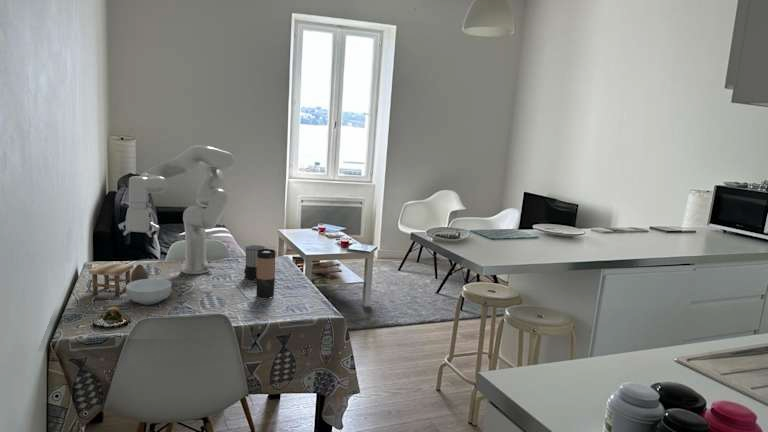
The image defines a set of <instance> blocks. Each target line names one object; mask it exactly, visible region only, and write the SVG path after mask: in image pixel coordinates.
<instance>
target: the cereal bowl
mask: <svg viewBox="0 0 768 432" xmlns="http://www.w3.org/2000/svg"><path fill="white" fill-rule="evenodd" d="M125 292H126V295H127V298H128V299H130V301H133V302H135V303H138V304H141V305H154V304H155V305H156V304H158V303H159V302H160V301H163V300H164V299H165V300H166V299H167V298H168V297H169V295H170V294H171V292H172V282H171V281H170V280H168V279H163V278H148V279H142V280H137V281H133V282H132V281H130V283H129V284H127V285H126V284H125Z"/></svg>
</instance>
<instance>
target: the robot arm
mask: <svg viewBox="0 0 768 432" xmlns="http://www.w3.org/2000/svg"><path fill="white" fill-rule="evenodd" d="M235 163H236V159H235V157H234V155H233V154H232V153H230V152H228V151H226V150H221V149H219V148H216V147H215V148H214V147H213V146H208V145H197V144H196V145H192V146H190V147H189V148H187V149H185V150H184V151H183V152H181V153H180V154H178V155H177V156H175V157H174V158H172V159H170V160H166V161H165V162H161V163H159V164H157V165H154V166H152V167H150V168H148V169H147V170H145V171H144V172H143V173H141V174H140V175H136V176H135V175H133V176H131V177H129V179H128V208H127V211H126V215H125V221H123V222H120V223H119V224H118V225H117V226H118V228H119V230H120V232H121V233H122V235H123V236H124V242H125V245H129V244H131V234H130V233H131V232H133V233H145V234H146V235H147V236H148V237H147V247H150V246H153V244H154V236H155V235H156V234H158V232H159V230H160V226H159V225H157V224H155V223H154V222H153V215H152V209H151V208H150V207H152V203H150V201H149V194H151V193H152V194H162V193H164V192H165V191H167V189H168V188H169V182H168V180H167V179H170V178H177V177H182V176H184V175H186V174H188V173H189V172H190V171H192V170H193V169H194V168H196V167H197V166H199V165H204V167H205V172H206V175H205V177H204V180H203V182H202V184H201V186H200V188H199V189H198V192H197V193H196V196H195V201H196V203H197V204H198V205H200V206H197V205H192V206H188V207H187V208H185V209H184V211H183V214H182V221H183V224H184V266H183V267H182V268H181V273H183V274H186V275H201V274H202V275H203V274H205V273H209V271H210V270H214V269H215V265H214V264H212V263H208V261H207V232H206V230H211V229H213V228H215V227H216V226H217V224H218V223H219V221H220V219H221V217H222V215H223V213H224V212H225V209H226V207H227V204H228V202H229V197H228V194H227V191H225V190H223V189H222V185H223V183H224V175H223V174H224V173H223V171H227V170H228V171H230V170H231V169H232V168H233V167H234V166H235ZM124 226H125V228H124ZM153 229H154V230H153Z"/></svg>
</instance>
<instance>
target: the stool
mask: <svg viewBox="0 0 768 432" xmlns="http://www.w3.org/2000/svg"><path fill="white" fill-rule="evenodd" d="M132 269H133V270H134V264H126V263H114V262H113V263H111V262H103V263H102V264H99V265H97V266H95V267H93V268H91V269H89V270H88V274H89V275H92V277H91V278H92V279H91V281H92V296H98V295H99V292H98V291H99V290H98V288H104V289H106V290H107V289H110V288H111V289H114V297H115V298H116V297H117V298H118V297H120V296H121V287H120V286H121V283H120V282H123V283H125V286H126V285H127V284H129V283H130V282H131V270H132ZM123 274H125V278H120V276H122V275H123ZM98 275H99V276H100V275H101V276H103V279H104V282H103V283H98ZM110 276H114V277H110ZM110 282H114V284H110Z"/></svg>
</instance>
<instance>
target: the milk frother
mask: <svg viewBox="0 0 768 432" xmlns="http://www.w3.org/2000/svg"><path fill="white" fill-rule="evenodd" d="M244 249H245V268H243V269H244V272H245V273H244V278H245V277H246V278H249V279H248V280H250V279H256V276H257V251H258V250H261V249H268V248H265V246H264V245H257V244H256V245H255V244H253V245H252V244H250V245H247V246H245V247H244ZM246 278H245V279H246Z"/></svg>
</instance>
